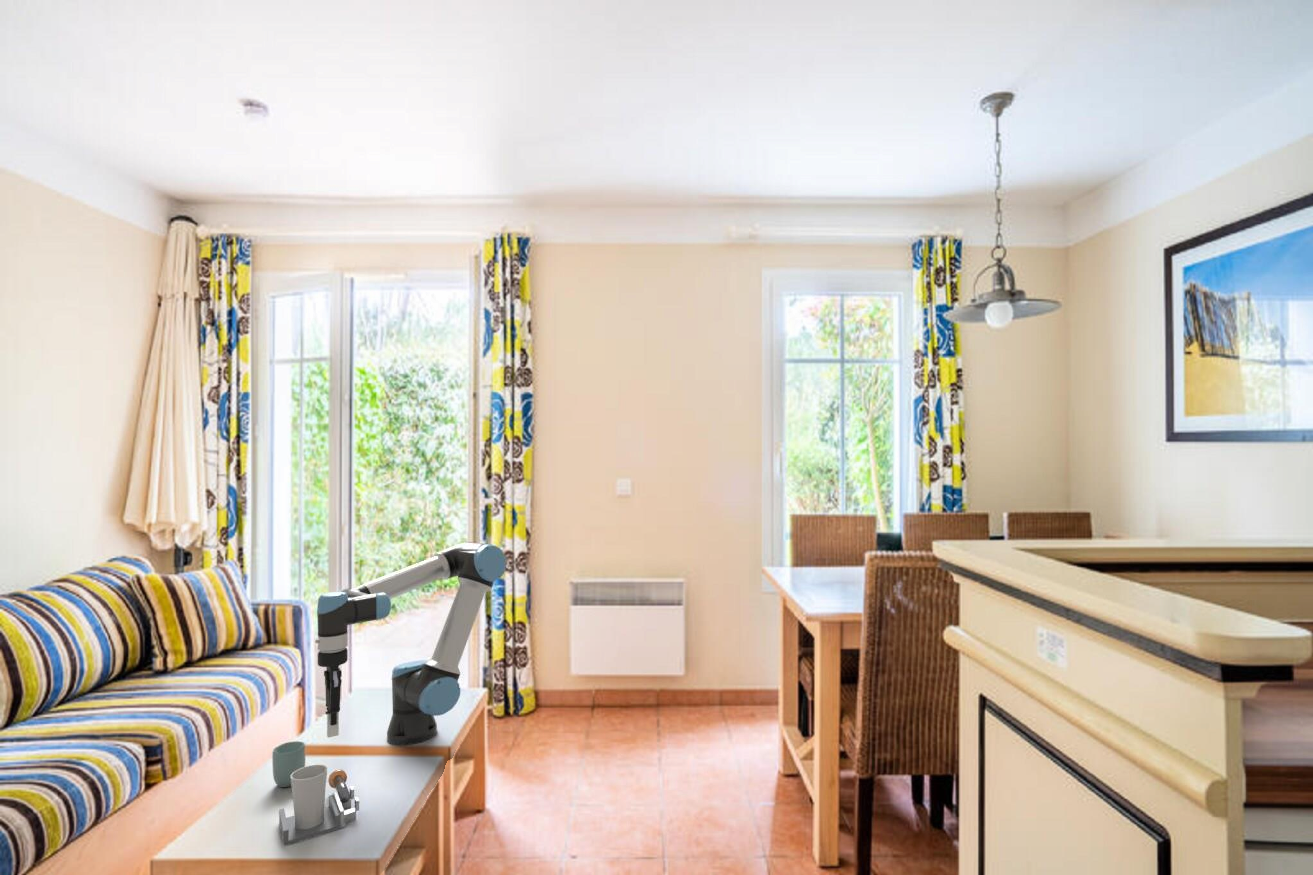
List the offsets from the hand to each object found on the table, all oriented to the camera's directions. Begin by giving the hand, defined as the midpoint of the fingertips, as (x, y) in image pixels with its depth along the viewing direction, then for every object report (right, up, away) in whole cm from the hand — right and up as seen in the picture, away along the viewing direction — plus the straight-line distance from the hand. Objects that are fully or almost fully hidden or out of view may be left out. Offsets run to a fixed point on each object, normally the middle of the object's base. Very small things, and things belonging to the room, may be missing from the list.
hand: (332, 735), depth 183 cm
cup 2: (+5, -11, -22) cm, 26 cm away
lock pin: (+7, -11, -11) cm, 17 cm away
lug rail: (+12, -12, -18) cm, 25 cm away
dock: (+5, -12, -22) cm, 26 cm away
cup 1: (-12, -14, 0) cm, 18 cm away
